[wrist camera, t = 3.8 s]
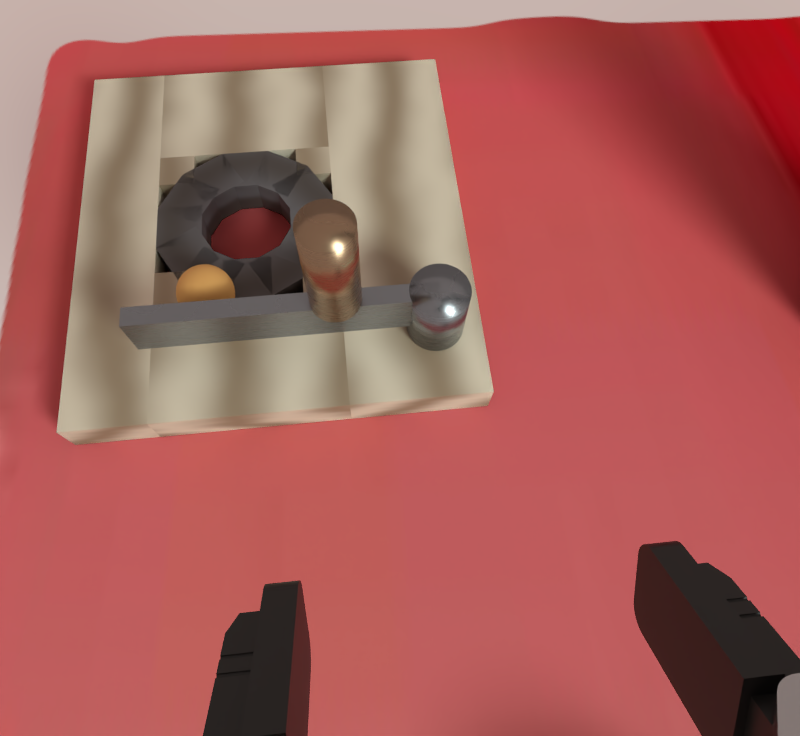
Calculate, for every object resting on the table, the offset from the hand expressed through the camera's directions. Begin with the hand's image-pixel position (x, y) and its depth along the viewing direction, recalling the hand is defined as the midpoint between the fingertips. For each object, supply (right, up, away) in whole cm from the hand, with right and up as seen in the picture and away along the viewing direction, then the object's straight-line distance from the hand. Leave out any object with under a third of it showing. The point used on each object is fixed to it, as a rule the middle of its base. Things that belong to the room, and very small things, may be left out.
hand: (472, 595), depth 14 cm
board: (-10, +14, +33) cm, 37 cm away
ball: (-14, +9, +26) cm, 31 cm away
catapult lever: (-7, +7, +27) cm, 28 cm away
